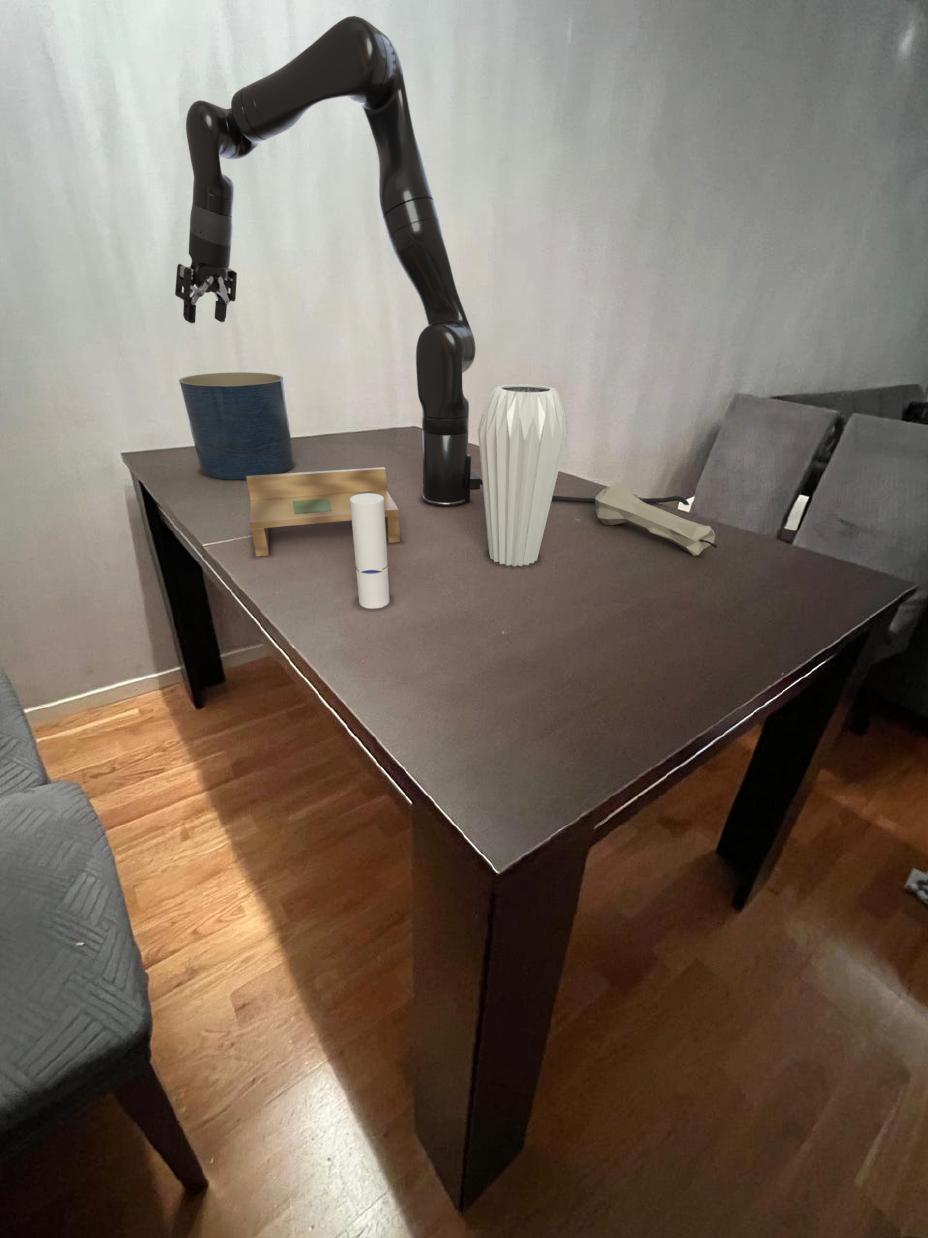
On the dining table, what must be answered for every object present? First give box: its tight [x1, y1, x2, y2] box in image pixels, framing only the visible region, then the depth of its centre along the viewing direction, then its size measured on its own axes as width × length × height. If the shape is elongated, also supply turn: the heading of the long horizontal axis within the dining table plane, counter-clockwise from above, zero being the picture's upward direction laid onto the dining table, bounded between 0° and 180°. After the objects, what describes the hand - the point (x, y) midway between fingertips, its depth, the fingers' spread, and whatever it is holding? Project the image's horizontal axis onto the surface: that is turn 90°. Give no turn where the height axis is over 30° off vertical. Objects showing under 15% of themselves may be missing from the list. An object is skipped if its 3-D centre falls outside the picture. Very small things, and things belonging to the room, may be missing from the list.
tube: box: [350, 493, 390, 610], centre depth 74 cm, size 4×4×15 cm
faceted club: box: [594, 480, 718, 557], centre depth 98 cm, size 9×8×25 cm
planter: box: [178, 371, 294, 481], centre depth 129 cm, size 22×22×20 cm
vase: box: [477, 383, 568, 568], centre depth 85 cm, size 13×13×26 cm
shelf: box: [246, 466, 401, 558], centre depth 95 cm, size 24×12×10 cm, turn 108°
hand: (205, 321), depth 118 cm, fingers open, 8 cm apart
